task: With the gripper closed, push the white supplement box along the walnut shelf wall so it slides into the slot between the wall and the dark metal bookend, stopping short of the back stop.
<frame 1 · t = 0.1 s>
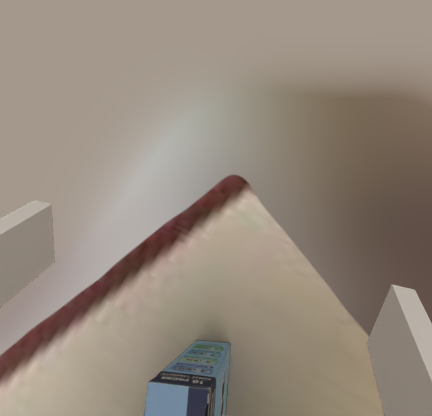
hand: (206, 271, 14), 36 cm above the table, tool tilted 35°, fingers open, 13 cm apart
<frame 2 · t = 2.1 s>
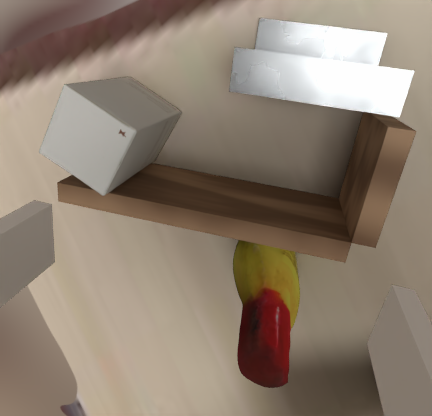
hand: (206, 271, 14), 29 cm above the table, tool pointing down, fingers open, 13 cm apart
supplement box: (143, 120, 42), on the table
shelf: (218, 183, 43), on the table
bottle: (273, 246, 45), on the table
bookend: (310, 75, 37), on the table
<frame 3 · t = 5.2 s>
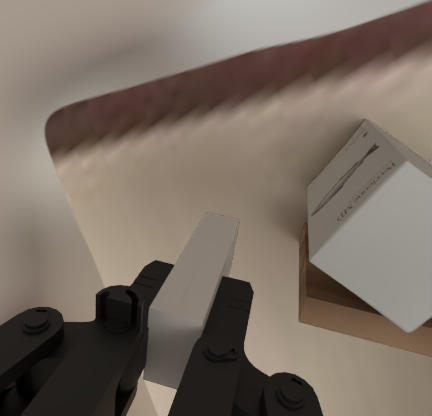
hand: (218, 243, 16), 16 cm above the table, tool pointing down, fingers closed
supplement box: (368, 179, 29), on the table
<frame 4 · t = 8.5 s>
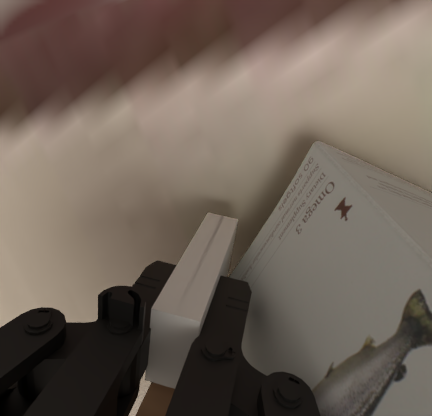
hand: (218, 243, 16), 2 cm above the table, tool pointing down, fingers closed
supplement box: (330, 237, 16), point 1 cm above the table, touching gripper, hand
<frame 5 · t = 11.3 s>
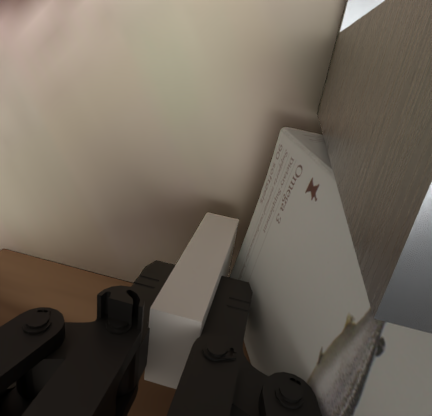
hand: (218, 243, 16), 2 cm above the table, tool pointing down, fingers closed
supplement box: (324, 221, 15), point 1 cm above the table, touching gripper, hand
shelf: (225, 322, 20), on the table
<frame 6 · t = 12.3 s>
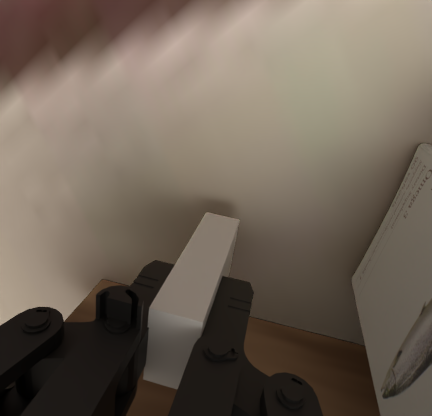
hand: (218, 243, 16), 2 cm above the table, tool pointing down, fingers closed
shelf: (340, 354, 19), on the table
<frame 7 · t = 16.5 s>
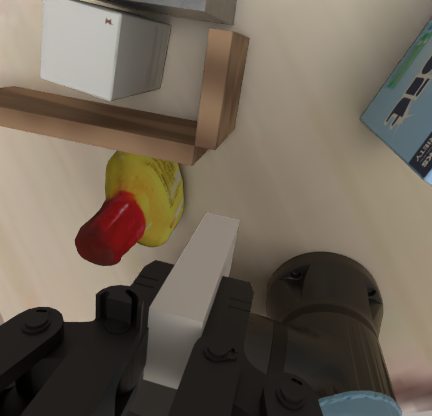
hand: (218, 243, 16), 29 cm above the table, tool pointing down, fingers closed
supplement box: (138, 50, 42), on the table
shelf: (111, 113, 46), on the table
bottle: (166, 176, 48), on the table
bookend: (182, 1, 39), on the table
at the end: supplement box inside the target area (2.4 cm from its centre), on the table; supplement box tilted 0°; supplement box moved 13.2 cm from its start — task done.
